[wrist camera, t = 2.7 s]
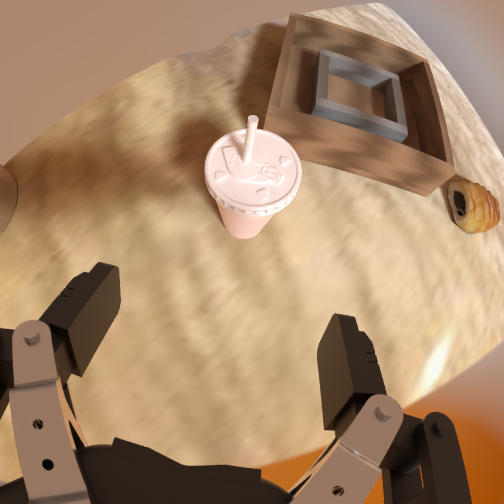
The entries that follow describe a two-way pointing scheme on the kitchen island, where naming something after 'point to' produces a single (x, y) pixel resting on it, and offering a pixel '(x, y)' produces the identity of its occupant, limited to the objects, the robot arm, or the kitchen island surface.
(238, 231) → the smoothie
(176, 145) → the kitchen island surface
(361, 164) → the crate
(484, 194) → the pastry
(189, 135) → the kitchen island surface
